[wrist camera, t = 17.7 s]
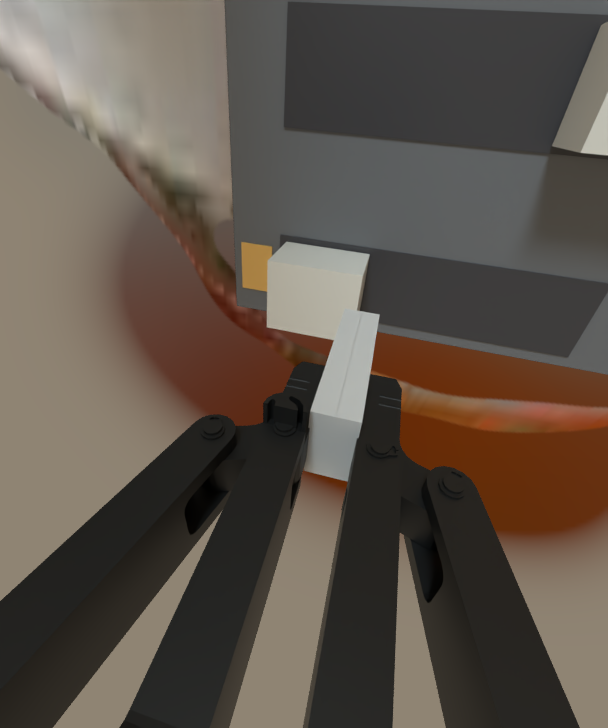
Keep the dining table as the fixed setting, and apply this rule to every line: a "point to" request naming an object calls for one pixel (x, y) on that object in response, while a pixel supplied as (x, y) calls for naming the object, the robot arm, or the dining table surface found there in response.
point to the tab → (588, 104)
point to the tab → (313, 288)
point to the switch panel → (426, 164)
